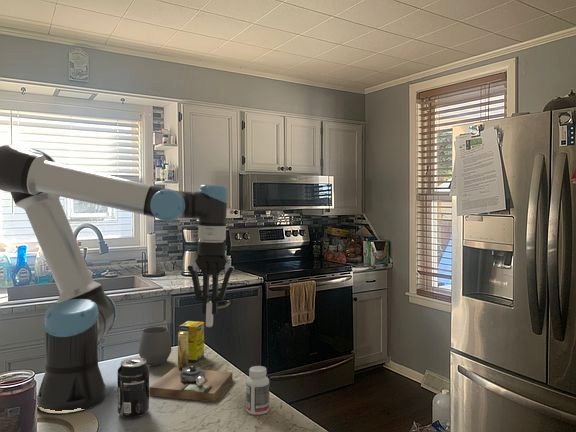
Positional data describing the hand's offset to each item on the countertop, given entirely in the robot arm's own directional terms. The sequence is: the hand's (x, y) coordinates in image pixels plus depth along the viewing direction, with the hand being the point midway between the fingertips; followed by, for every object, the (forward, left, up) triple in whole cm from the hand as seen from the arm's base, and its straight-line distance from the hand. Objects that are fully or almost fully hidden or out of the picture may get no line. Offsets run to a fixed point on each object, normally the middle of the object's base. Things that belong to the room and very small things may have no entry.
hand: (209, 325), depth 128 cm
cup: (-19, +5, -14) cm, 24 cm away
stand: (-1, -9, -14) cm, 16 cm away
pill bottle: (+19, -18, -14) cm, 30 cm away
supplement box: (-10, +11, -14) cm, 21 cm away
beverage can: (-8, -26, -14) cm, 31 cm away
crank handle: (-2, -8, -12) cm, 14 cm away
